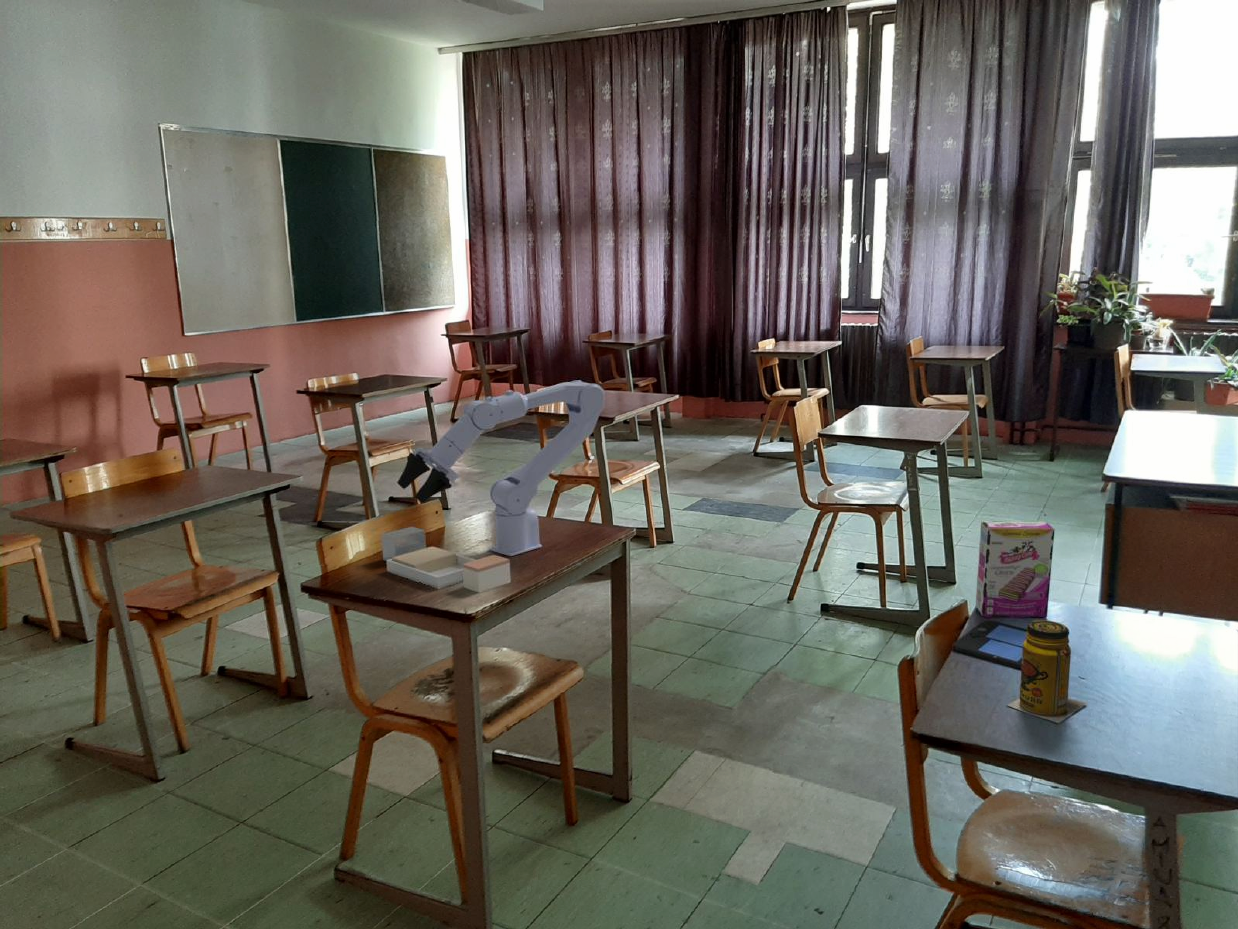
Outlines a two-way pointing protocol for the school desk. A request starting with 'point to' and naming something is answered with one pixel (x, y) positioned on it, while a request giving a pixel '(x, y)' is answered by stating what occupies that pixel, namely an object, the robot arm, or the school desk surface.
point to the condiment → (1046, 672)
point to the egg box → (486, 573)
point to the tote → (430, 566)
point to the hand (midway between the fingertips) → (409, 493)
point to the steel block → (402, 542)
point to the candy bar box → (1014, 568)
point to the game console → (994, 643)
